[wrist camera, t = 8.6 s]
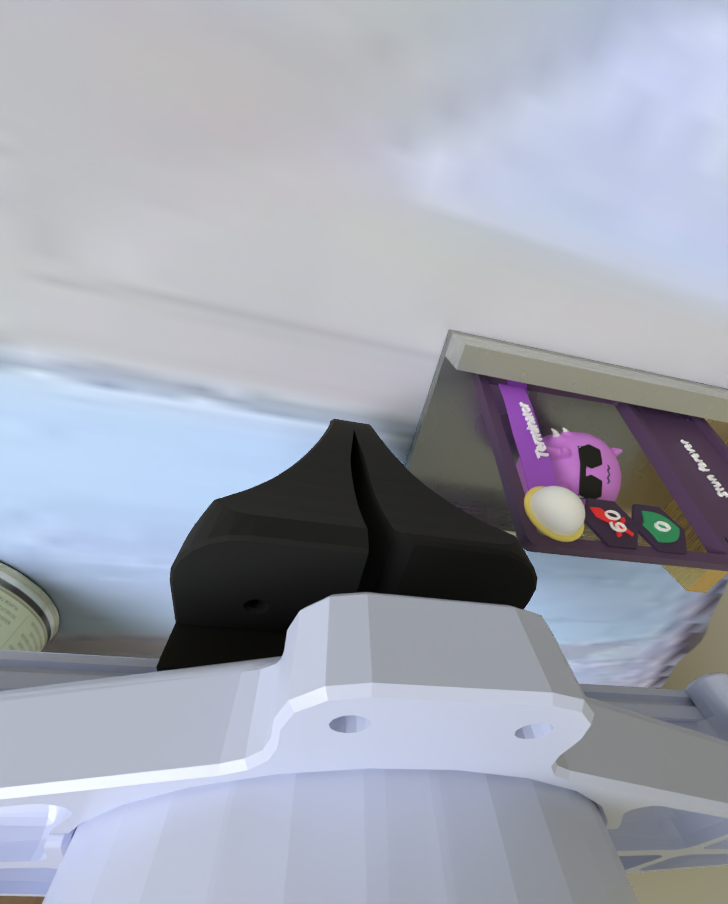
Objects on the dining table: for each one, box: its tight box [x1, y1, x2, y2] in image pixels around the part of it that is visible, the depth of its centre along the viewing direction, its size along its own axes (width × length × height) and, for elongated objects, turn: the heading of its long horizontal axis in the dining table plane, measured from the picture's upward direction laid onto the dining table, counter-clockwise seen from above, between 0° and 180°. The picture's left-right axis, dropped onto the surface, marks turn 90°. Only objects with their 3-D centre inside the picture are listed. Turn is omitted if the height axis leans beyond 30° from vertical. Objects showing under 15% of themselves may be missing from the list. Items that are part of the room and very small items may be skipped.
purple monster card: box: [473, 373, 728, 571], centre depth 12 cm, size 7×5×9 cm
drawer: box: [405, 330, 728, 593], centre depth 14 cm, size 8×14×4 cm, turn 78°
